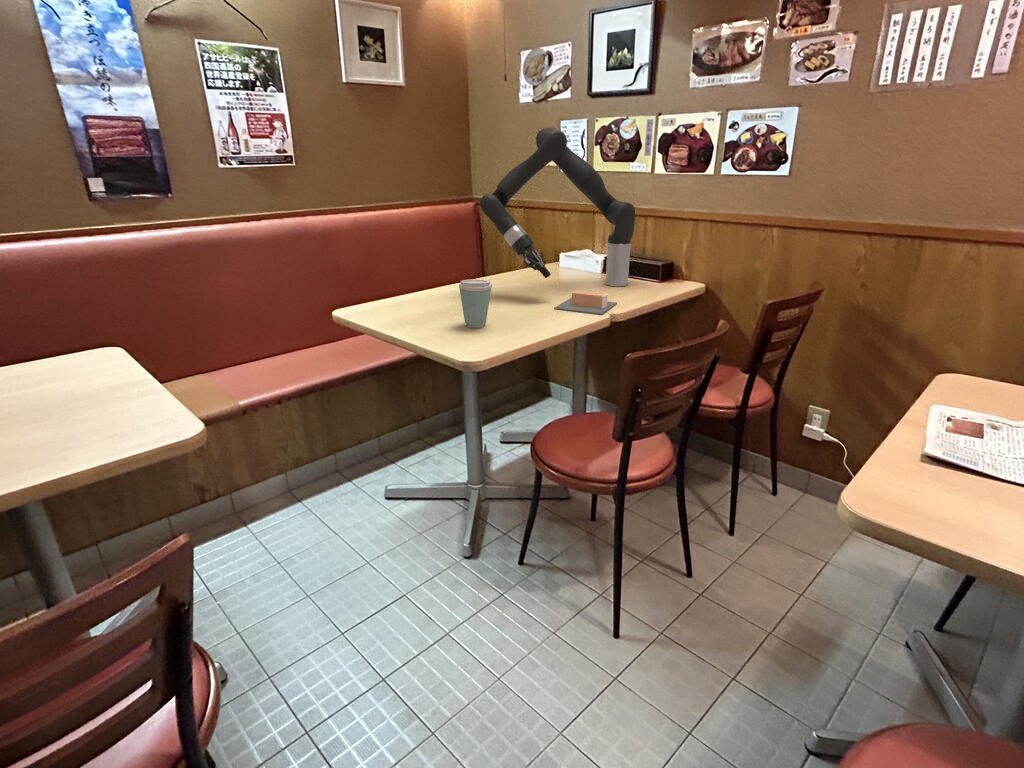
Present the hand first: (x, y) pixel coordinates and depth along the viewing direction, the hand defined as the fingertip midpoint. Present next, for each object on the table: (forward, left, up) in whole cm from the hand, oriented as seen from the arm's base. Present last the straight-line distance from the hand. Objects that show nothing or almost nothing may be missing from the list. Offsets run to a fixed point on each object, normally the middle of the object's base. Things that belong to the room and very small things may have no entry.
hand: (548, 276), depth 215 cm
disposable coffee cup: (+38, -9, -10) cm, 40 cm away
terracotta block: (0, +10, -7) cm, 12 cm away
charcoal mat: (0, +15, -10) cm, 18 cm away
